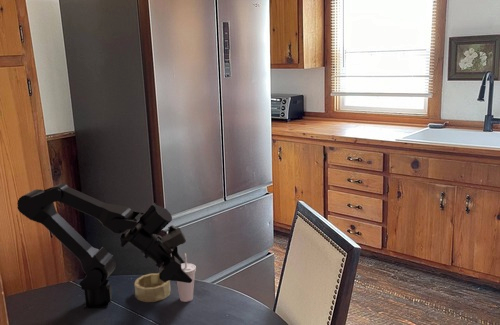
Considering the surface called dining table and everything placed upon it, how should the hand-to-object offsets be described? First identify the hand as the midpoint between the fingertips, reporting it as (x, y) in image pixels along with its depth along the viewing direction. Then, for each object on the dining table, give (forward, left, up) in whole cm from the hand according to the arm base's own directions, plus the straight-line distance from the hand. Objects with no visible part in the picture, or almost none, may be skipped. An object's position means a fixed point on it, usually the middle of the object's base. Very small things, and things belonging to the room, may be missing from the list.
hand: (189, 275), depth 135 cm
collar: (-11, +4, -7) cm, 14 cm away
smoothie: (-1, 0, -7) cm, 7 cm away
